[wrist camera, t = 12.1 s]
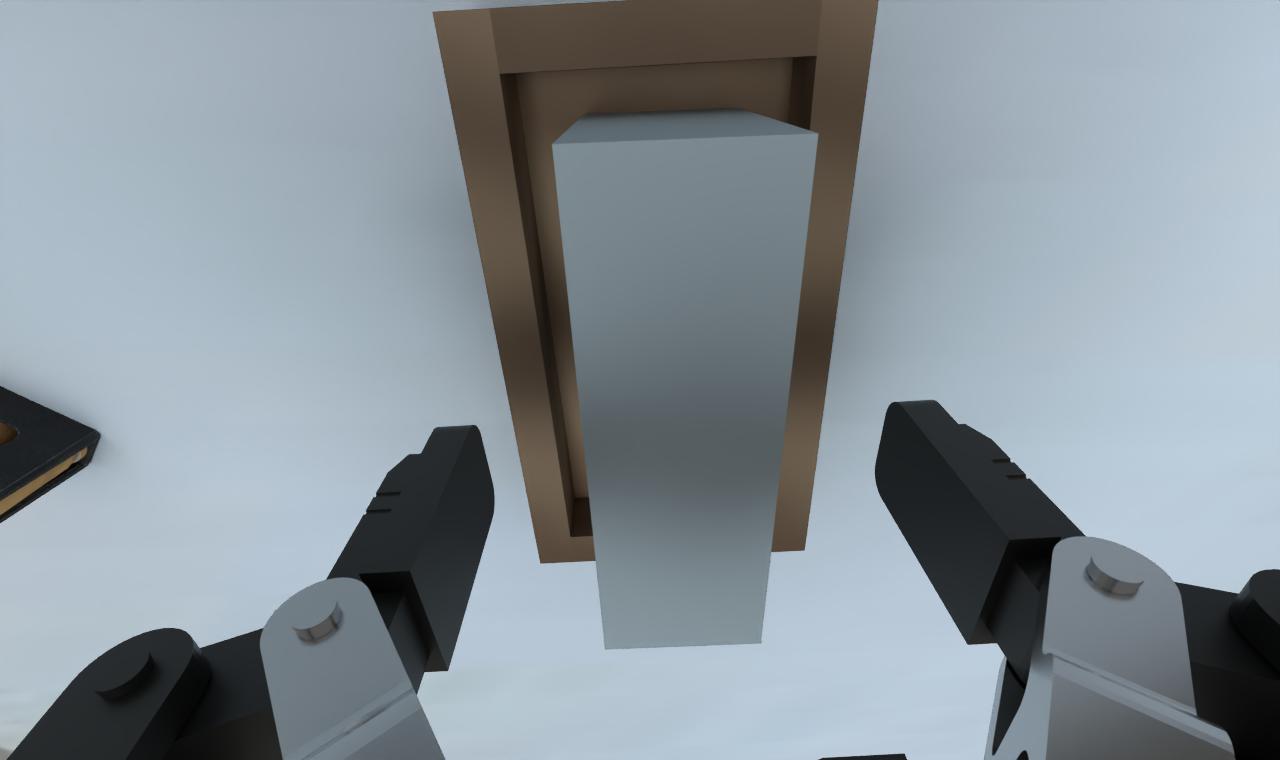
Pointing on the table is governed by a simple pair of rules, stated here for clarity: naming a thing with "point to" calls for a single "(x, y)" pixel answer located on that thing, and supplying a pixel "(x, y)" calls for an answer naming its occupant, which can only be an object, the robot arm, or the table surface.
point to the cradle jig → (630, 82)
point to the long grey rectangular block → (683, 357)
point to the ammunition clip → (37, 450)
